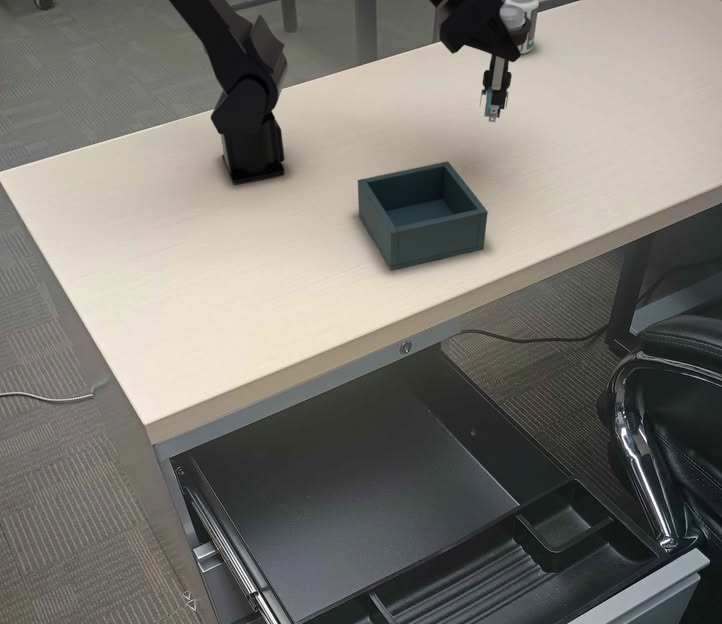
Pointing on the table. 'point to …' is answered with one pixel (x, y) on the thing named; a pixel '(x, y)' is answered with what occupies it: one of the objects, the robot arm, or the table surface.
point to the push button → (503, 63)
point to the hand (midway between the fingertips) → (514, 47)
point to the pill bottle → (530, 6)
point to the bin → (421, 215)
